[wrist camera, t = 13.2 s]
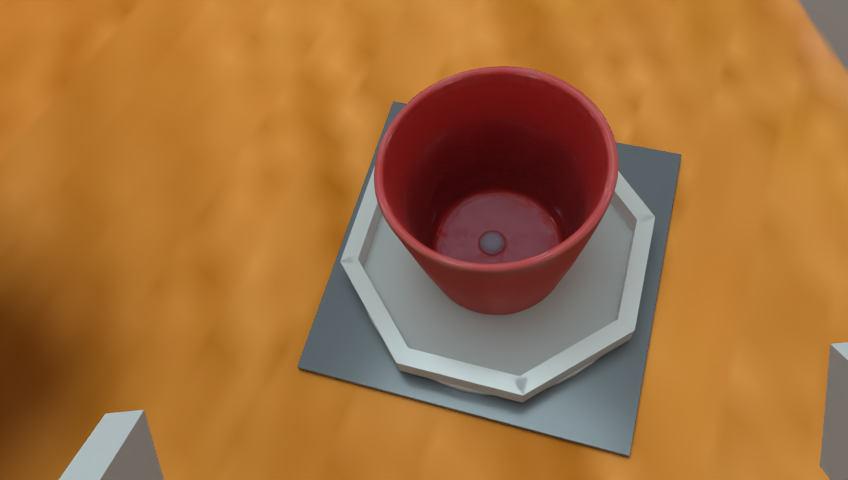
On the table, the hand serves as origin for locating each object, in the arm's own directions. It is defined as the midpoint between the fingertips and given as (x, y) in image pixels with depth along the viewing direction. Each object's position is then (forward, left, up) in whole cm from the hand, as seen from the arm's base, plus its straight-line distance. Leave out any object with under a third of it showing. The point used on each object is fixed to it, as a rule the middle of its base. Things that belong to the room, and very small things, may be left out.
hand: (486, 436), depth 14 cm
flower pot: (-4, +14, -24) cm, 28 cm away
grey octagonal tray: (-3, +14, -25) cm, 29 cm away
